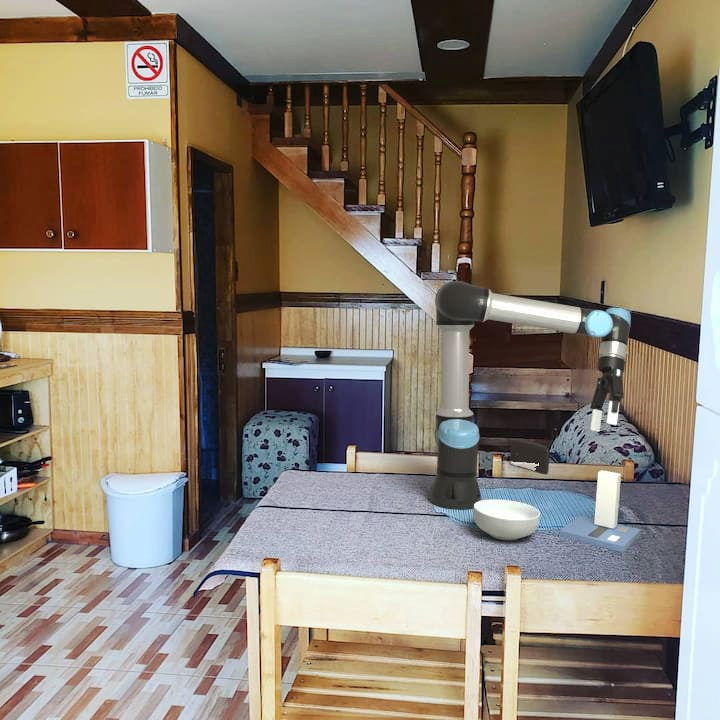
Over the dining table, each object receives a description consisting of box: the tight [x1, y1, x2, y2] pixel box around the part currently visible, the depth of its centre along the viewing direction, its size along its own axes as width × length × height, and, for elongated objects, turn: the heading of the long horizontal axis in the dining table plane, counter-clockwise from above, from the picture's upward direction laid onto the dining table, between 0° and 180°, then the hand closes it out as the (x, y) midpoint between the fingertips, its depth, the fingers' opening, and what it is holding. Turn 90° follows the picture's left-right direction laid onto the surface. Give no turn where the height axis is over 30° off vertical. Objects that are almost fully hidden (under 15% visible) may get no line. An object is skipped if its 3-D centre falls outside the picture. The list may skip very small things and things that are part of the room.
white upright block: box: [594, 469, 622, 529], centre depth 179 cm, size 3×5×14 cm, turn 53°
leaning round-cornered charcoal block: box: [509, 439, 550, 475], centre depth 242 cm, size 16×5×9 cm, turn 39°
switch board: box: [558, 515, 642, 553], centre depth 177 cm, size 16×16×2 cm
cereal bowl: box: [472, 499, 541, 541], centre depth 174 cm, size 17×17×7 cm
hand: (602, 427), depth 199 cm, fingers open, 13 cm apart
